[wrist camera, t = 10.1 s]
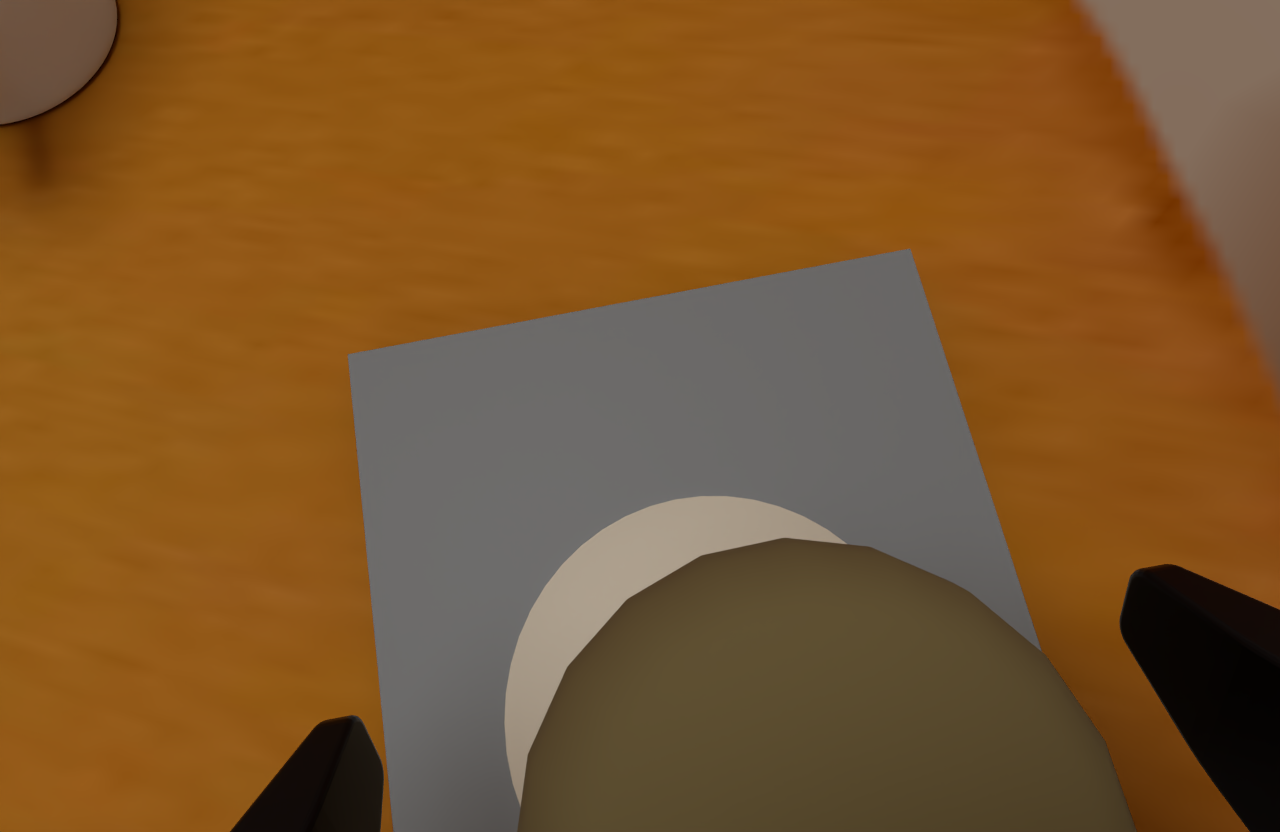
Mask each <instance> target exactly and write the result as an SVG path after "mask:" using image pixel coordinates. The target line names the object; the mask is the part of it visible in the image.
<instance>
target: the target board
mask: <svg viewBox="0 0 1280 832" xmlns="http://www.w3.org/2000/svg"><path fill="white" fill-rule="evenodd" d="M348 361H349V372H350V382H351V393H352V403H353V413H354V424H355V434H356V445H357V455H358V466H359V476H360V487H361V497H362V508H363V518H364V528H365V539H366V549H367V560H368V570H369V581H370V591H371V602H372V612H373V622H374V633H375V643H376V654H377V664H378V675H379V685H380V696H381V706H382V717H383V727H384V737H385V748H386V758H387V769H388V779H389V790H390V800H391V811H392V821H393V831H394V832H517V829H518V822H519V815H520V807H521V800H522V793H523V785H524V778H525V771H526V763H527V756H528V753H529V750H530V748H531V746H532V744H533V742H534V739H535V737H536V735H537V733H538V730H539V728H540V726H541V724H542V722H543V719H544V717H545V715H546V713H547V710H548V708H549V706H550V704H551V702H552V699H553V697H554V695H555V693H556V690H557V688H558V686H559V684H560V682H561V679H562V677H563V675H564V673H565V670H566V668H567V666H568V665H569V664H570V663H571V662H572V661H573V660H574V659H575V657H576V656H577V655H578V654H579V653H580V652H581V651H582V649H583V648H584V647H585V646H586V645H587V644H588V643H589V642H590V640H591V639H592V638H593V637H594V636H595V635H596V634H597V632H598V631H599V630H600V629H601V628H602V627H603V626H604V625H605V623H606V622H607V621H608V620H609V619H610V618H611V617H612V616H613V614H614V613H615V612H616V611H617V610H618V609H619V608H620V606H621V605H622V604H623V603H624V602H625V601H626V600H627V599H628V598H630V597H632V596H633V595H635V594H637V593H638V592H640V591H642V590H643V589H645V588H647V587H648V586H650V585H652V584H654V583H655V582H657V581H659V580H660V579H662V578H664V577H665V576H667V575H669V574H671V573H672V572H674V571H676V570H677V569H679V568H681V567H682V566H684V565H686V564H687V563H689V562H691V561H693V560H694V559H696V558H698V557H699V556H701V555H705V554H710V553H715V552H719V551H724V550H729V549H733V548H738V547H743V546H747V545H752V544H757V543H761V542H766V541H771V540H775V539H780V538H793V539H802V540H812V541H821V542H831V543H840V544H850V545H859V546H869V547H872V548H874V549H877V550H879V551H881V552H883V553H886V554H888V555H890V556H893V557H895V558H897V559H900V560H902V561H904V562H907V563H909V564H911V565H914V566H916V567H918V568H920V569H923V570H925V571H927V572H930V573H932V574H934V575H937V576H939V577H941V578H944V579H946V580H948V581H950V582H953V583H955V584H956V585H958V586H960V587H962V588H964V589H965V590H967V591H969V592H971V593H972V594H973V595H974V596H975V597H977V598H978V599H979V600H980V601H981V602H983V603H984V604H985V605H986V606H987V607H989V608H990V609H991V610H992V611H993V612H995V613H996V614H997V615H998V616H999V617H1001V618H1002V619H1003V620H1004V621H1005V622H1007V623H1008V624H1009V625H1010V626H1011V627H1013V628H1014V629H1015V630H1016V631H1017V632H1019V633H1020V634H1021V635H1022V636H1023V637H1025V638H1026V639H1027V640H1028V641H1029V642H1031V643H1032V644H1033V645H1034V646H1035V647H1037V648H1038V649H1039V650H1040V651H1041V648H1040V645H1039V642H1038V638H1037V635H1036V632H1035V629H1034V626H1033V623H1032V620H1031V617H1030V614H1029V611H1028V608H1027V605H1026V602H1025V599H1024V596H1023V593H1022V590H1021V586H1020V583H1019V580H1018V577H1017V574H1016V571H1015V568H1014V565H1013V562H1012V559H1011V556H1010V553H1009V550H1008V547H1007V544H1006V541H1005V538H1004V534H1003V531H1002V528H1001V525H1000V522H999V519H998V516H997V513H996V510H995V507H994V504H993V501H992V498H991V495H990V492H989V489H988V486H987V482H986V479H985V476H984V473H983V470H982V467H981V464H980V461H979V458H978V455H977V452H976V449H975V446H974V443H973V440H972V437H971V434H970V431H969V427H968V424H967V421H966V418H965V415H964V412H963V409H962V406H961V403H960V400H959V397H958V394H957V391H956V388H955V385H954V382H953V379H952V375H951V372H950V369H949V366H948V363H947V360H946V357H945V354H944V351H943V348H942V345H941V342H940V339H939V336H938V333H937V330H936V327H935V323H934V320H933V317H932V314H931V311H930V308H929V305H928V302H927V299H926V296H925V293H924V290H923V287H922V284H921V281H920V278H919V275H918V271H917V268H916V265H915V262H914V259H913V256H912V253H911V250H910V249H906V250H901V251H896V252H890V253H885V254H880V255H874V256H869V257H864V258H858V259H853V260H848V261H843V262H837V263H832V264H827V265H821V266H816V267H811V268H805V269H800V270H795V271H789V272H784V273H779V274H773V275H768V276H763V277H757V278H752V279H747V280H741V281H736V282H731V283H725V284H720V285H715V286H709V287H704V288H699V289H694V290H688V291H683V292H678V293H672V294H667V295H662V296H656V297H651V298H646V299H640V300H635V301H630V302H624V303H619V304H614V305H608V306H603V307H598V308H592V309H587V310H582V311H576V312H571V313H566V314H561V315H555V316H550V317H545V318H539V319H534V320H529V321H523V322H518V323H513V324H507V325H502V326H497V327H491V328H486V329H481V330H475V331H470V332H465V333H459V334H454V335H449V336H443V337H438V338H433V339H427V340H422V341H417V342H412V343H406V344H401V345H396V346H390V347H385V348H380V349H374V350H369V351H364V352H358V353H353V354H348ZM1041 652H1042V651H1041Z"/></svg>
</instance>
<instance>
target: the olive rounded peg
mask: <svg viewBox="0 0 1280 832" xmlns="http://www.w3.org/2000/svg"><path fill="white" fill-rule="evenodd" d="M517 832H1137V831H1136V828H1135V825H1134V822H1133V819H1132V817H1131V814H1130V811H1129V808H1128V805H1127V802H1126V799H1125V797H1124V794H1123V791H1122V788H1121V785H1120V782H1119V780H1118V777H1117V774H1116V771H1115V768H1114V765H1113V762H1112V760H1111V757H1110V754H1109V751H1108V748H1107V745H1106V743H1105V740H1104V739H1103V737H1102V736H1101V734H1100V733H1099V732H1098V730H1097V729H1096V727H1095V726H1094V724H1093V723H1092V721H1091V720H1090V719H1089V717H1088V716H1087V714H1086V713H1085V711H1084V710H1083V708H1082V707H1081V706H1080V704H1079V703H1078V701H1077V700H1076V698H1075V697H1074V695H1073V694H1072V693H1071V691H1070V690H1069V688H1068V687H1067V685H1066V684H1065V682H1064V681H1063V679H1062V678H1061V677H1060V675H1059V674H1058V672H1057V671H1056V669H1055V668H1054V666H1053V665H1052V664H1051V662H1050V661H1049V659H1048V658H1047V656H1046V655H1045V654H1044V653H1043V652H1041V651H1040V650H1039V649H1038V648H1037V647H1035V646H1034V645H1033V644H1032V643H1031V642H1029V641H1028V640H1027V639H1026V638H1025V637H1023V636H1022V635H1021V634H1020V633H1019V632H1017V631H1016V630H1015V629H1014V628H1013V627H1011V626H1010V625H1009V624H1008V623H1007V622H1005V621H1004V620H1003V619H1002V618H1001V617H999V616H998V615H997V614H996V613H995V612H993V611H992V610H991V609H990V608H989V607H987V606H986V605H985V604H984V603H983V602H981V601H980V600H979V599H978V598H977V597H975V596H974V595H973V594H972V593H971V592H969V591H967V590H965V589H964V588H962V587H960V586H958V585H956V584H955V583H953V582H950V581H948V580H946V579H944V578H941V577H939V576H937V575H934V574H932V573H930V572H927V571H925V570H923V569H920V568H918V567H916V566H914V565H911V564H909V563H907V562H904V561H902V560H900V559H897V558H895V557H893V556H890V555H888V554H886V553H883V552H881V551H879V550H877V549H874V548H872V547H869V546H859V545H850V544H840V543H831V542H821V541H812V540H802V539H793V538H780V539H775V540H771V541H766V542H761V543H757V544H752V545H747V546H743V547H738V548H733V549H729V550H724V551H719V552H715V553H710V554H705V555H701V556H699V557H698V558H696V559H694V560H693V561H691V562H689V563H687V564H686V565H684V566H682V567H681V568H679V569H677V570H676V571H674V572H672V573H671V574H669V575H667V576H665V577H664V578H662V579H660V580H659V581H657V582H655V583H654V584H652V585H650V586H648V587H647V588H645V589H643V590H642V591H640V592H638V593H637V594H635V595H633V596H632V597H630V598H628V599H627V600H626V601H625V602H624V603H623V604H622V605H621V606H620V608H619V609H618V610H617V611H616V612H615V613H614V614H613V616H612V617H611V618H610V619H609V620H608V621H607V622H606V623H605V625H604V626H603V627H602V628H601V629H600V630H599V631H598V632H597V634H596V635H595V636H594V637H593V638H592V639H591V640H590V642H589V643H588V644H587V645H586V646H585V647H584V648H583V649H582V651H581V652H580V653H579V654H578V655H577V656H576V657H575V659H574V660H573V661H572V662H571V663H570V664H569V665H568V666H567V668H566V670H565V673H564V675H563V677H562V679H561V682H560V684H559V686H558V688H557V690H556V693H555V695H554V697H553V699H552V702H551V704H550V706H549V708H548V710H547V713H546V715H545V717H544V719H543V722H542V724H541V726H540V728H539V730H538V733H537V735H536V737H535V739H534V742H533V744H532V746H531V748H530V750H529V753H528V756H527V763H526V771H525V778H524V785H523V793H522V800H521V807H520V815H519V822H518V829H517Z"/></svg>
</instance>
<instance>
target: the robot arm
mask: <svg viewBox="0 0 1280 832" xmlns="http://www.w3.org/2000/svg"><path fill="white" fill-rule="evenodd" d="M1120 630H1121V634H1122V636H1123V639H1124V641H1125V643H1126V645H1127V646H1128V648H1129V649H1130V651H1131V653H1132V654H1133V656H1134V658H1135V659H1136V661H1137V663H1138V664H1139V666H1140V667H1141V669H1142V671H1143V672H1144V674H1145V676H1146V677H1147V679H1148V681H1149V682H1150V684H1151V686H1152V687H1153V689H1154V690H1155V692H1156V694H1157V695H1158V697H1159V699H1160V700H1161V702H1162V704H1163V705H1164V707H1165V708H1166V710H1167V712H1168V713H1169V715H1170V717H1171V718H1172V720H1173V722H1174V723H1175V725H1176V727H1177V728H1178V730H1179V731H1180V733H1181V735H1182V736H1183V738H1184V740H1185V741H1186V743H1187V744H1188V746H1189V748H1190V749H1191V751H1192V752H1193V754H1194V755H1195V757H1196V758H1197V760H1198V761H1199V763H1200V764H1201V766H1202V767H1203V769H1204V770H1205V771H1206V773H1207V774H1208V776H1209V777H1210V778H1211V780H1212V781H1213V783H1214V784H1215V785H1216V787H1217V788H1218V789H1219V791H1220V792H1221V793H1222V795H1223V796H1224V797H1225V799H1226V800H1227V802H1228V803H1229V804H1230V806H1231V807H1232V808H1233V810H1234V811H1235V812H1236V814H1237V815H1238V816H1239V818H1240V819H1241V820H1242V822H1243V823H1244V824H1245V826H1246V827H1247V828H1248V830H1249V831H1250V832H1280V610H1279V609H1277V608H1274V607H1272V606H1270V605H1268V604H1265V603H1263V602H1261V601H1258V600H1256V599H1254V598H1251V597H1249V596H1247V595H1244V594H1242V593H1240V592H1237V591H1235V590H1233V589H1230V588H1228V587H1226V586H1223V585H1221V584H1219V583H1217V582H1214V581H1212V580H1210V579H1207V578H1205V577H1203V576H1200V575H1198V574H1196V573H1193V572H1191V571H1189V570H1186V569H1184V568H1182V567H1179V566H1176V565H1172V564H1164V565H1158V566H1152V567H1147V568H1142V569H1138V570H1136V571H1135V572H1134V573H1133V574H1132V575H1131V577H1130V579H1129V583H1128V587H1127V591H1126V595H1125V599H1124V603H1123V607H1122V611H1121V615H1120ZM383 785H384V773H383V766H382V762H381V759H380V757H379V755H378V752H377V750H376V748H375V746H374V744H373V742H372V740H371V738H370V736H369V734H368V732H367V730H366V727H365V725H364V723H363V722H362V720H361V719H360V718H359V717H357V716H353V715H350V716H345V717H340V718H334V719H329V720H325V721H322V722H320V723H319V724H318V725H317V726H316V727H315V728H314V729H313V730H312V731H311V732H310V734H309V735H308V736H307V737H306V739H305V740H304V741H303V742H302V743H301V745H300V746H299V747H298V748H297V750H296V751H295V752H294V753H293V755H292V756H291V757H290V758H289V760H288V761H287V762H286V763H285V764H284V766H283V767H282V768H281V769H280V771H279V772H278V773H277V774H276V776H275V777H274V778H273V779H272V781H271V782H270V783H269V784H268V785H267V787H266V788H265V789H264V790H263V792H262V793H261V794H260V795H259V797H258V798H257V799H256V800H255V802H254V803H253V804H252V805H251V806H250V808H249V809H248V810H247V811H246V813H245V814H244V815H243V816H242V818H241V819H240V820H239V821H238V822H237V824H236V825H235V826H234V827H233V829H232V830H231V831H230V832H380V829H381V814H382V800H383Z"/></svg>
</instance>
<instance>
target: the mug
mask: <svg viewBox="0 0 1280 832" xmlns="http://www.w3.org/2000/svg"><path fill="white" fill-rule="evenodd" d="M116 27H117V7H116V2H115V0H0V124H6V123H12V122H17V121H21V120H24V119H27V118H30V117H33V116H36V115H38V114H41V113H43V112H45V111H47V110H49V109H51V108H53V107H55V106H57V105H59V104H60V103H62V102H63V101H65V100H67V99H68V98H69V97H71V96H72V95H73V94H75V93H76V92H77V91H78V90H80V89H81V88H82V87H83V86H84V85H85V84H86V83H87V82H88V81H89V80H90V79H91V78H92V77H93V75H94V74H95V73H96V72H97V71H98V69H99V68H100V66H101V65H102V63H103V62H104V60H105V58H106V57H107V55H108V53H109V51H110V48H111V46H112V43H113V40H114V37H115V33H116Z"/></svg>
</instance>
